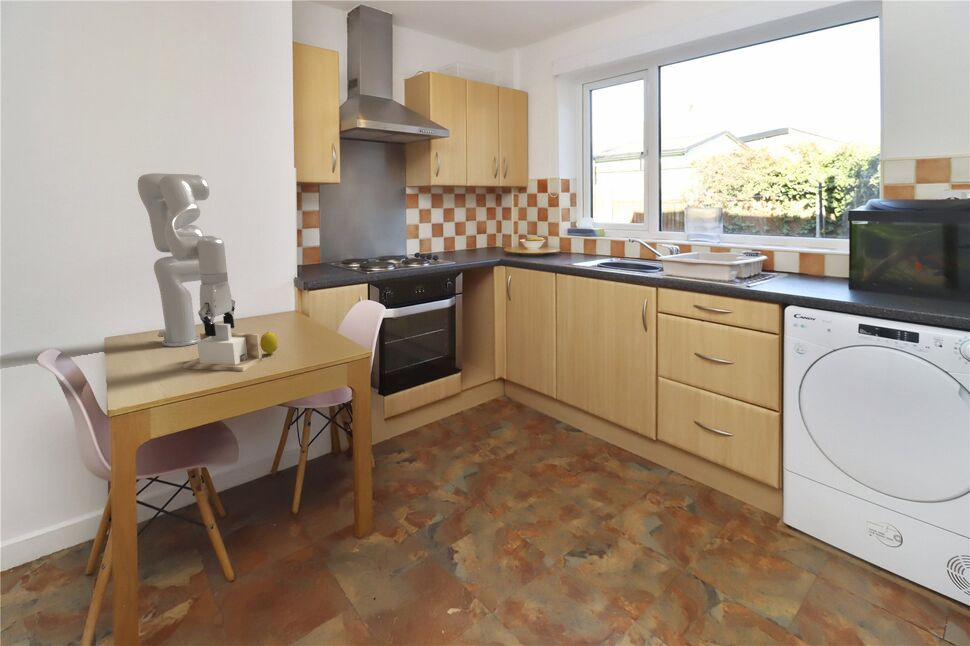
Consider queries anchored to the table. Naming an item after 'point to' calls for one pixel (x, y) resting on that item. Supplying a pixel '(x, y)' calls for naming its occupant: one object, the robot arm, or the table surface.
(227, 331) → the white stepped block
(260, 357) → the cleat board
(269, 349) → the lemon
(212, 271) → the robot arm
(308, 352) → the table surface
